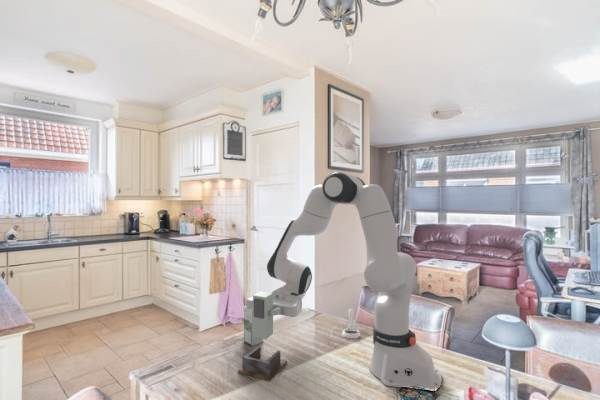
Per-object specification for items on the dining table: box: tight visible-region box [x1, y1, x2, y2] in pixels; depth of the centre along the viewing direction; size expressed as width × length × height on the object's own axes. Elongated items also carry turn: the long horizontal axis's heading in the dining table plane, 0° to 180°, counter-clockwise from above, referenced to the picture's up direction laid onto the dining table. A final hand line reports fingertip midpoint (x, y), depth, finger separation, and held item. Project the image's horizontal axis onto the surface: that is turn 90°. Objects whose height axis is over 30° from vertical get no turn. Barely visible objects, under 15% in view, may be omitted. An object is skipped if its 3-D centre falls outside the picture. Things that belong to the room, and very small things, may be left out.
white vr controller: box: [341, 308, 361, 340], centre depth 136 cm, size 8×12×7 cm
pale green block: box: [252, 290, 274, 340], centre depth 108 cm, size 5×6×14 cm
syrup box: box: [243, 305, 264, 347], centre depth 128 cm, size 6×6×14 cm
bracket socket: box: [237, 345, 288, 382], centre depth 108 cm, size 12×12×5 cm
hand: (261, 312), depth 107 cm, fingers closed on pale green block, 5 cm apart
